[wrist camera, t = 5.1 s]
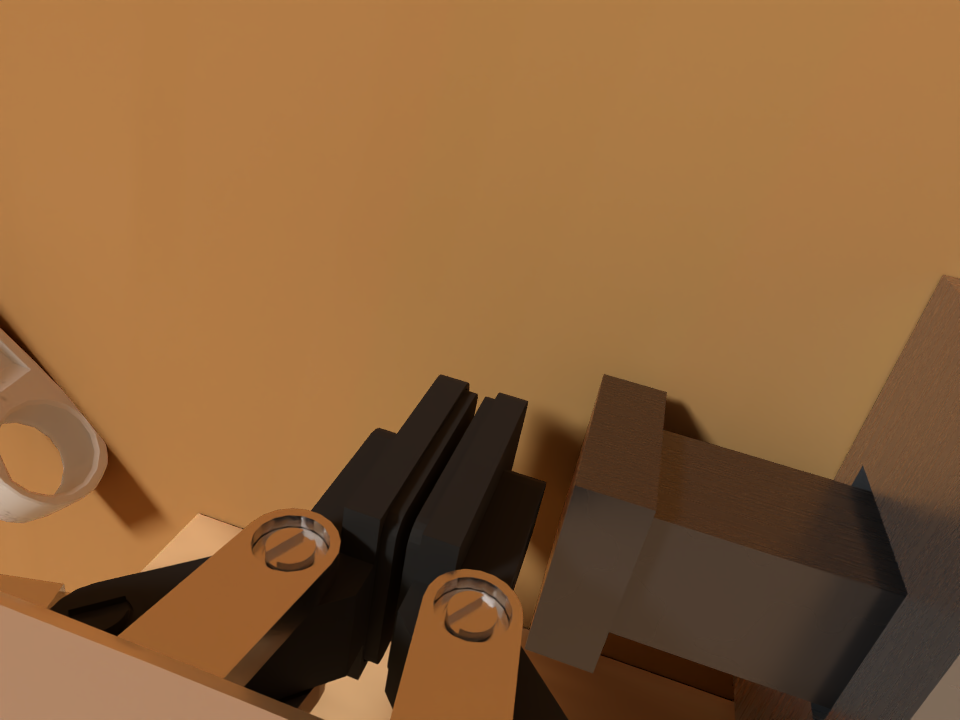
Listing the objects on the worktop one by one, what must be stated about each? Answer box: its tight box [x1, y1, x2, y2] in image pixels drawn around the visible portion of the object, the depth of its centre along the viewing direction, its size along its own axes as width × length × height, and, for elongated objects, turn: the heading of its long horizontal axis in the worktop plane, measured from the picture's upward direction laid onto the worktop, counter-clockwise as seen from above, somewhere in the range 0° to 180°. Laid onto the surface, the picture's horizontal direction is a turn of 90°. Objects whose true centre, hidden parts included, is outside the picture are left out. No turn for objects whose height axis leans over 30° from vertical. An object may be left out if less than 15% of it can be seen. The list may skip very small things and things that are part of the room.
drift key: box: [524, 374, 908, 709], centre depth 12 cm, size 10×4×4 cm, turn 79°
